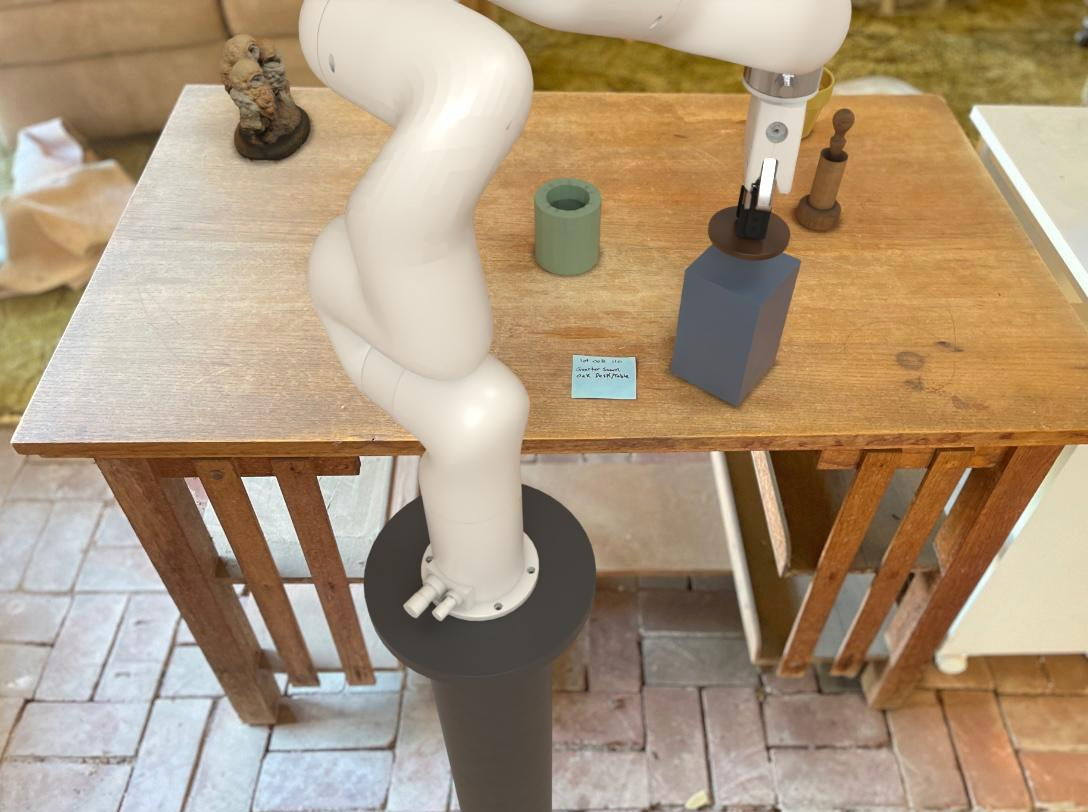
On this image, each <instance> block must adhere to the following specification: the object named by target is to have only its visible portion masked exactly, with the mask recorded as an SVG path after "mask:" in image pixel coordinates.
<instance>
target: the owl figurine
mask: <svg viewBox="0 0 1088 812" xmlns="http://www.w3.org/2000/svg"><path fill="white" fill-rule="evenodd" d="M221 52H222V53H221V54H222V56H221V58H220V60H219V62H218V69H219V74H220V78H221V80H220V81H221V82H222V84H223V86H224V90H225V92H227V95H229V97H230V99H231V101H233V103H234V105H235V107H237V108H238V111H239V122H238V123H237V125H236V128H235V130H234V134H233V143H234V147H235V149H236V151H237V153H238V154H239V155H240V156H241V157H242V158H244V159H247V160H249V161H251V162H253V161H269V162H270V161H271V162H272V161H273V162H275V161H276V162H277V161H280V160H284V159H287V158H289V157H291V156H292V155H293V154H296V152H297V151H298V150H299V149H301V148H302V145H303V144H305V143H306V142H307V140H308V138H309V136H310V131H311V121H310V118H309V114H308V113H307V111H305V110H304V109H303V108H302V107H301V106H299V105H297V104H296V103H295V99H294V97H293V95H292V94H291V87H290V86H291V84H290V80H289V79H287V75H286V66H285V65H286V64H285V62H284V59H283V58H282V56H281V53H280V52H279V50H278V48H277V47H276V46H275V43H274V41H273V40H271V39H269V38H260V39H257V40H256V39H255V38H254V36H252V35H250V34H248V33H241V34H236V35H234V36H233V37H231V38H229V39H228V40H227V41H225V43H224V45H223V49H222V51H221Z"/></svg>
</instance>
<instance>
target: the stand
mask: <svg viewBox="0 0 1088 812" xmlns="http://www.w3.org/2000/svg"><path fill="white" fill-rule="evenodd" d="M801 265H802V260H801V259H798V258H797V257H794V256H793V255H790V254H787V253H786V252H783V253H781V254H780V255H778V256H776V257H774V258H771V259H767V260H760V261H751V260H743V259H738V258H735V257H732V256H729V255H727V254H725V253H723V252H722V251H720V250H719V249H718V248H716V247H715V246H714V245H713V243H711V244H710V245H709V246H708V247H707V248H706V249H705V250H704V251H703V252H702V253H701V254H700V255H698V257H696V258H695V260H693V262H692V263H690V265H688V266H687V268H685V269H684V274H683V282H682V288H681V296H680V301H679V302H680V303H679V309H678V315H677V324H676V329H675V337H674V343H673V344H674V345H673V350H672V358H671V366H670V374H672V375H674V376H676V377H678V378H680V379H681V380H684V381H686V382H688V383H689V384H692V385H693V386H695V387H697V388H699V389H700V390H703V391H705V392H707V393H709V394H711V395H713V396H714V397H716V398H718V399H720V400H722V401H724V402H726V403H728V404H729V405H731V406H733V407H736V408H738V407H739V405H740V404H741V403H742V402H743V400H744V399H746V397H747V396H748V395H749V393H750V392H751V391H752V390H753V389H754V388H755V387H756V385H757V384H758V383H759V382H760V381H761V379H762V378H764V376H765V375H766V373H768V372H769V371H770V369H771V368H772V366H773V365H774V364H775V362H776V359H777V355H778V351H779V347H780V344H781V340H782V336H783V332H784V329H785V325H786V321H787V317H788V314H789V310H790V307H791V302H792V298H793V294H794V291H795V288H796V284H797V279H798V277H799V276H798V275H799V271H800V268H801Z"/></svg>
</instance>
